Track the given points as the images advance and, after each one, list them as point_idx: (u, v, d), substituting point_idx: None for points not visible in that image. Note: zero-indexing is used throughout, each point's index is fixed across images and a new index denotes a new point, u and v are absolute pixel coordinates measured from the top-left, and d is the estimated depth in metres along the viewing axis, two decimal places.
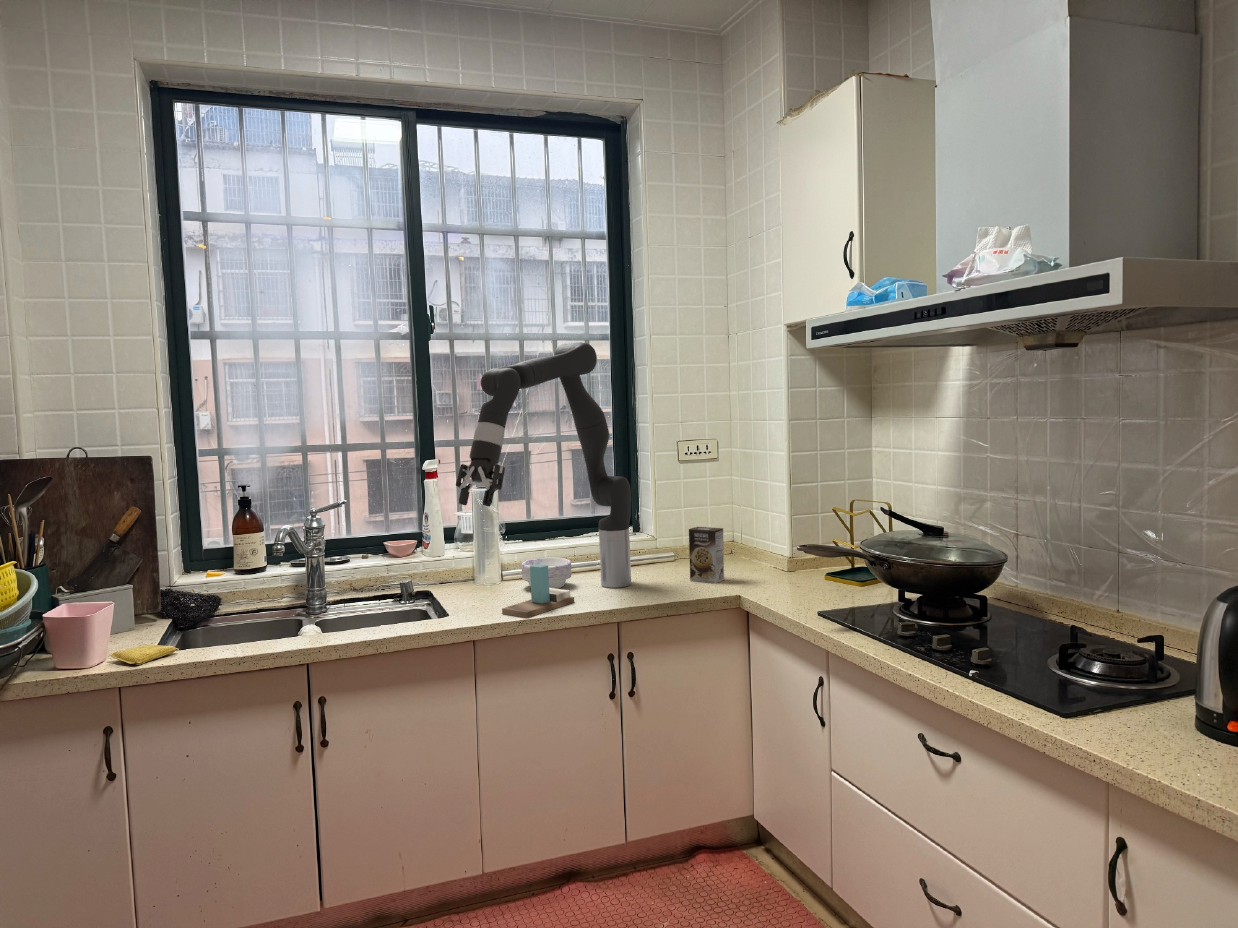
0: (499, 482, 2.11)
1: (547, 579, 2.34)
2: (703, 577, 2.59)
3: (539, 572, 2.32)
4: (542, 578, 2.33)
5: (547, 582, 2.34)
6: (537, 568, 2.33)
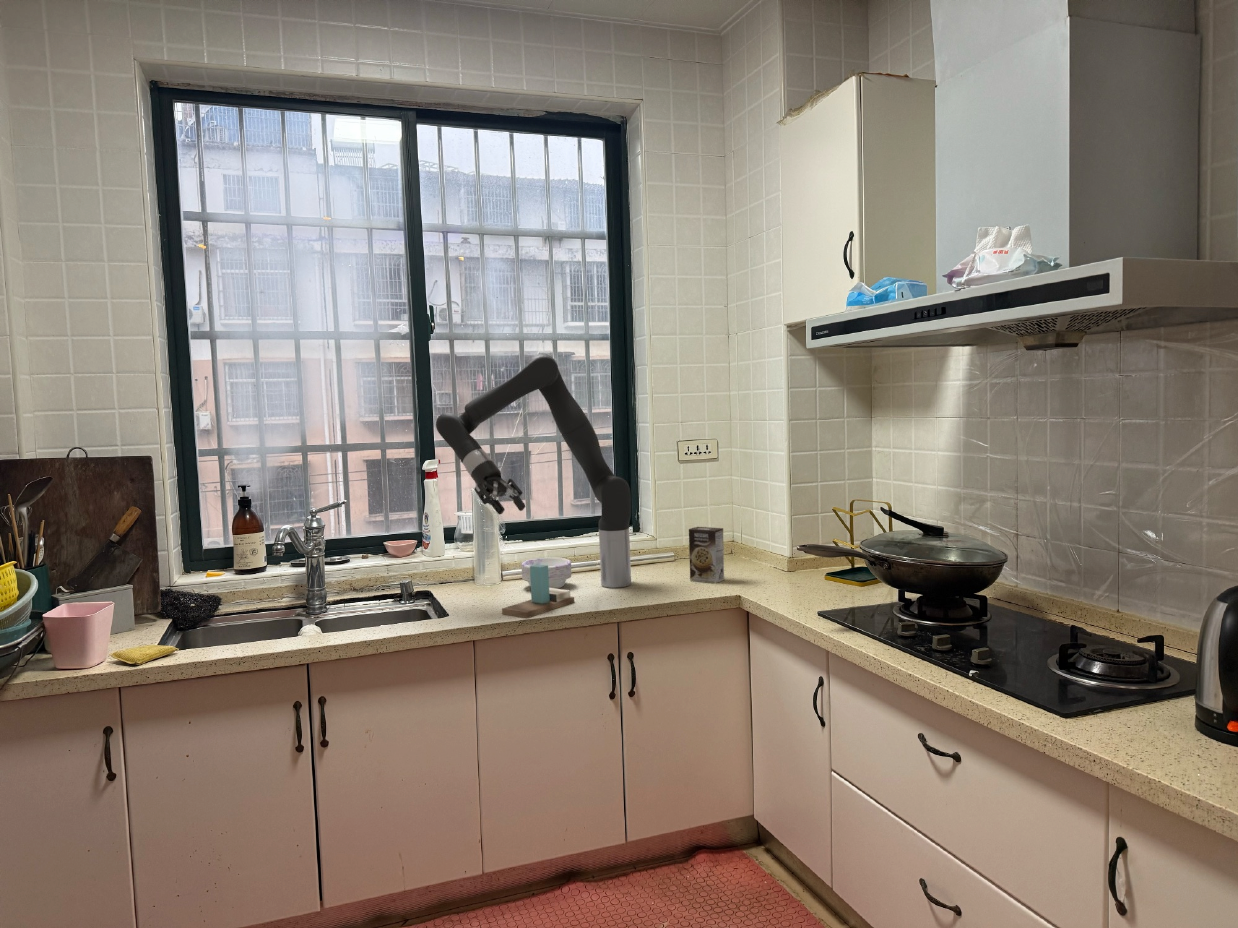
0: None
1: (547, 579, 2.34)
2: (703, 577, 2.59)
3: (539, 572, 2.32)
4: (542, 578, 2.33)
5: (547, 582, 2.34)
6: (537, 568, 2.33)
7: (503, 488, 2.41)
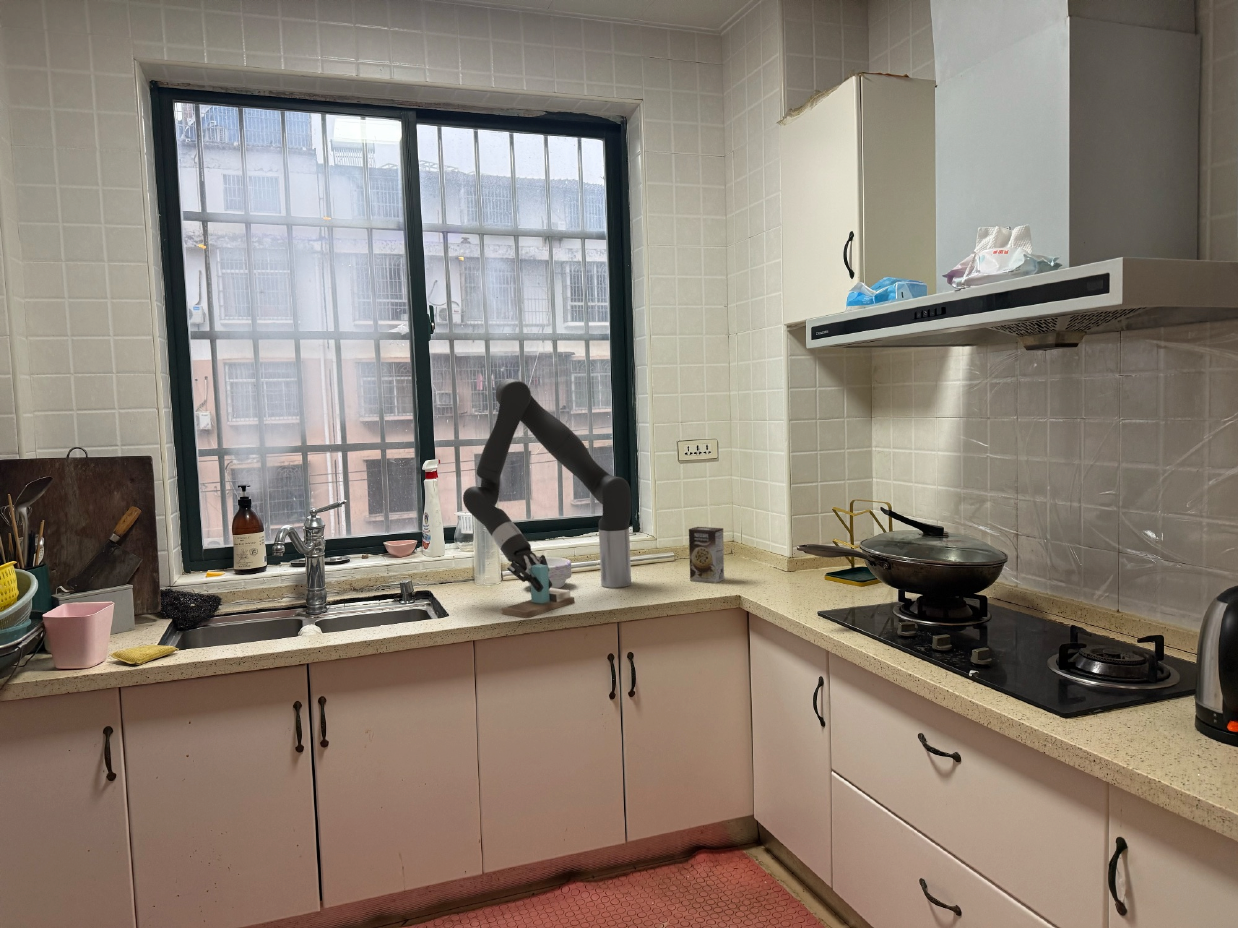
0: None
1: (547, 579, 2.34)
2: (703, 577, 2.59)
3: (539, 572, 2.32)
4: (542, 578, 2.33)
5: (547, 582, 2.34)
6: (537, 568, 2.33)
7: (531, 562, 2.37)
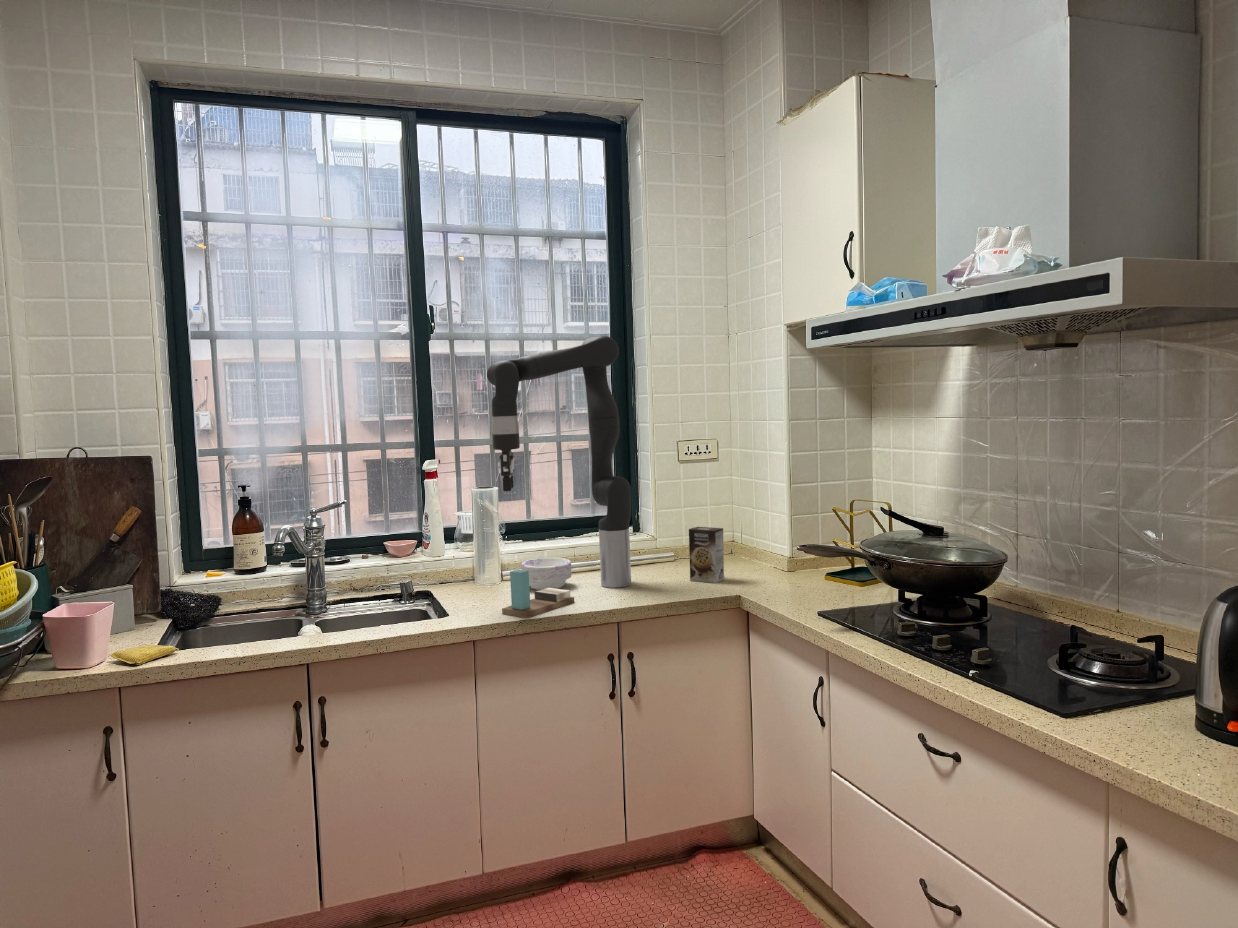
0: (508, 469, 2.35)
1: (528, 585, 2.28)
2: (703, 577, 2.59)
3: (519, 577, 2.26)
4: (522, 584, 2.27)
5: (527, 588, 2.28)
6: (517, 573, 2.27)
7: None
